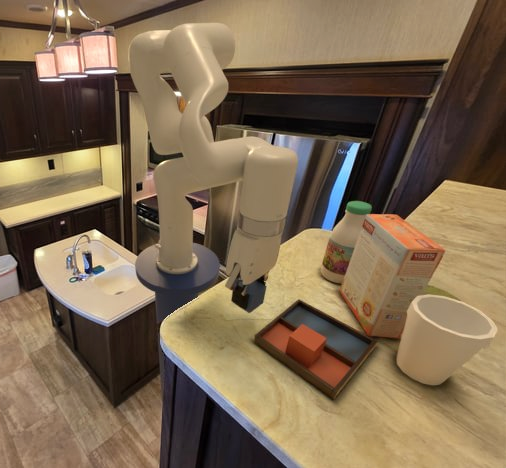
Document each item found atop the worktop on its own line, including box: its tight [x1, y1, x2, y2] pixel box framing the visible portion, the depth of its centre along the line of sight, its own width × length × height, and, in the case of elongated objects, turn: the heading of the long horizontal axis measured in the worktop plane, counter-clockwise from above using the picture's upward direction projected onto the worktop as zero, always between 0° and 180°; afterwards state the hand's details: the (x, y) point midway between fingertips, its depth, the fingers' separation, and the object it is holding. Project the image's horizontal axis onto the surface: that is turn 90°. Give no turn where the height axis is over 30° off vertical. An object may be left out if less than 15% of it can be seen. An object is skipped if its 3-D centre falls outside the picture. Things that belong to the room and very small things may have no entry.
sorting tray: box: [253, 298, 378, 400], centre depth 56 cm, size 15×16×2 cm
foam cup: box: [395, 294, 499, 386], centre depth 48 cm, size 10×9×13 cm
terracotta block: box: [285, 324, 327, 368], centre depth 53 cm, size 4×4×4 cm
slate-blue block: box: [230, 280, 267, 314], centre depth 58 cm, size 4×4×4 cm
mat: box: [423, 284, 461, 301], centre depth 63 cm, size 11×11×2 cm
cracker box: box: [339, 213, 447, 340], centre depth 58 cm, size 14×6×21 cm, turn 170°
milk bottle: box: [320, 200, 373, 285], centre depth 70 cm, size 8×8×20 cm
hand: (247, 298), depth 59 cm, fingers closed on slate-blue block, 4 cm apart
